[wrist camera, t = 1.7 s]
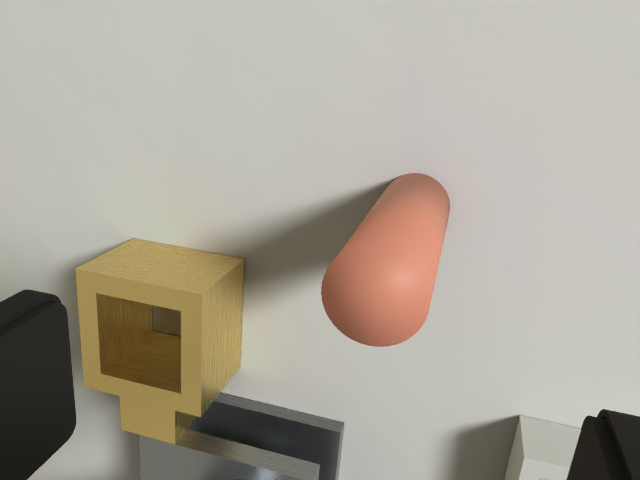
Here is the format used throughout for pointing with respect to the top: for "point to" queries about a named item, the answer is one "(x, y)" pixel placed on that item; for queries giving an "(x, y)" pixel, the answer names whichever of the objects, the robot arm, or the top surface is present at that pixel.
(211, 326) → the yellow and grey fixture
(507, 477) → the pipe rack
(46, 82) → the top surface
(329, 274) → the pin
